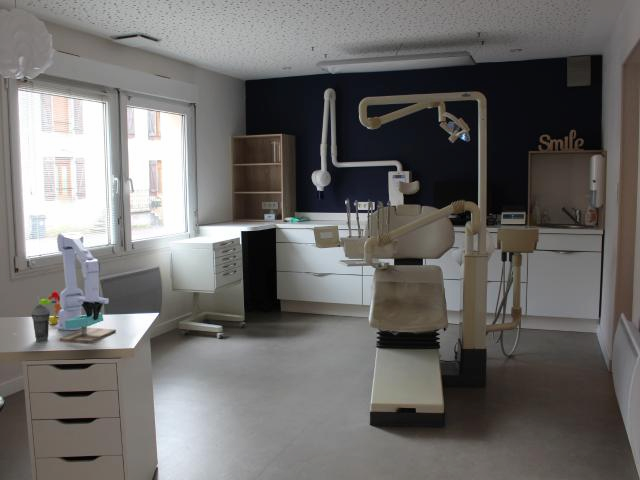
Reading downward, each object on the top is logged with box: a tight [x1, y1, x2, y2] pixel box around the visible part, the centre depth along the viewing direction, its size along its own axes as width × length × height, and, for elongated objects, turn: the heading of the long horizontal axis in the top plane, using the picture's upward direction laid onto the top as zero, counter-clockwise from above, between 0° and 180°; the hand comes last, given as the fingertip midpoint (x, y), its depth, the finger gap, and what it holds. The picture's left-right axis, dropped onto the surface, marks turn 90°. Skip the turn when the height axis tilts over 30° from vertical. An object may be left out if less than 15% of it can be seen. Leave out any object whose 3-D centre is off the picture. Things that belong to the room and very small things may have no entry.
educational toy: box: [39, 291, 62, 325], centre depth 304 cm, size 16×13×15 cm
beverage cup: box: [30, 293, 51, 343], centre depth 269 cm, size 7×7×20 cm
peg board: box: [59, 326, 117, 344], centre depth 277 cm, size 15×19×6 cm
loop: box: [65, 312, 104, 329], centre depth 273 cm, size 11×11×4 cm
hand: (93, 319), depth 272 cm, fingers closed on loop, 2 cm apart
